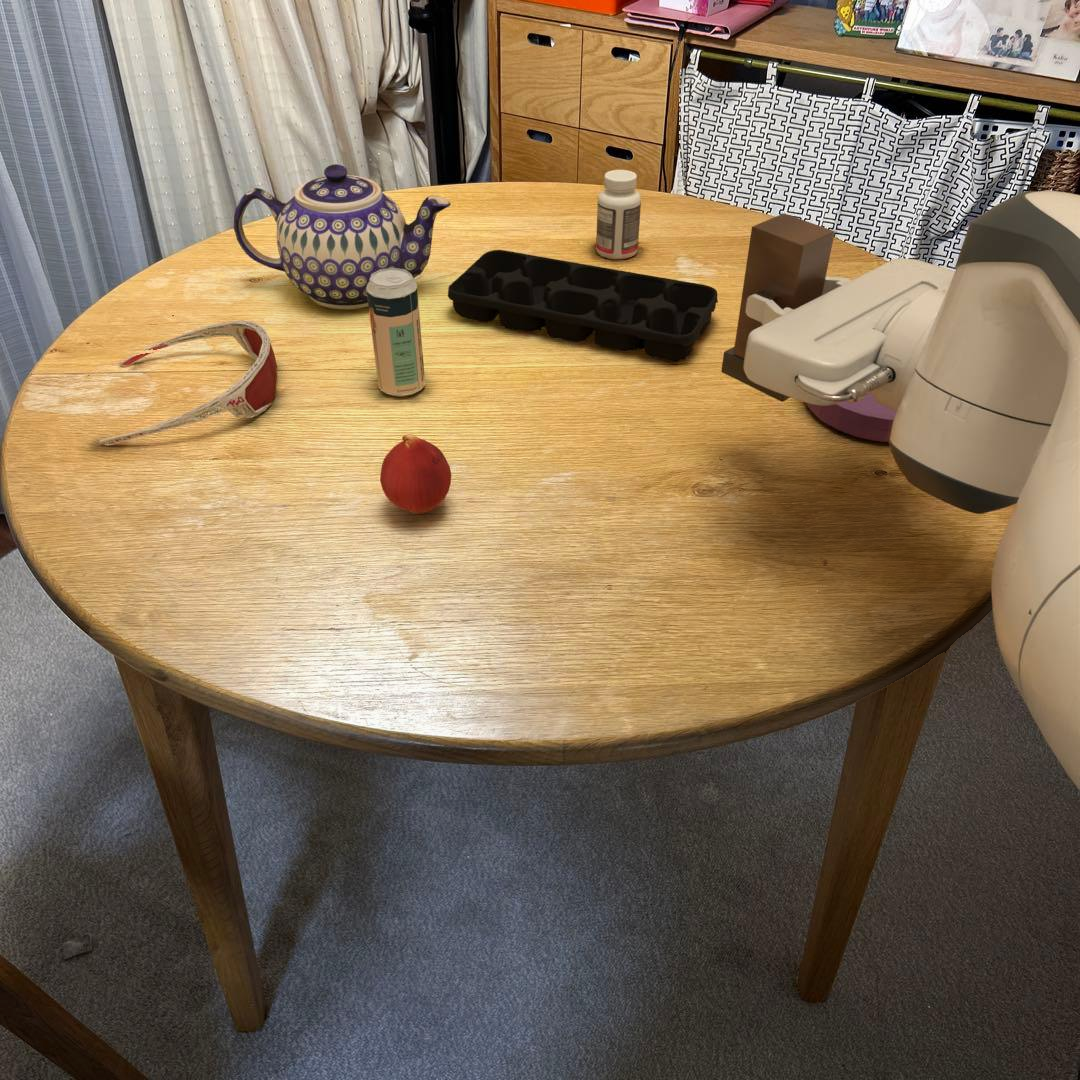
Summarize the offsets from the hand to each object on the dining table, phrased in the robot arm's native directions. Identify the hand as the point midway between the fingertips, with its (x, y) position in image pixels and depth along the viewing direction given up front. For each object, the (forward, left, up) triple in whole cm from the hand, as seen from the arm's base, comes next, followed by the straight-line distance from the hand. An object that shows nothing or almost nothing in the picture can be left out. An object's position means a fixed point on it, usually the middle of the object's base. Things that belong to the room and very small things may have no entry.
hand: (773, 291), depth 77 cm
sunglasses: (+54, +6, -17) cm, 57 cm away
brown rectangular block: (-1, 0, -7) cm, 8 cm away
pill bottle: (+23, -41, -17) cm, 50 cm away
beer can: (+35, -2, -17) cm, 39 cm away
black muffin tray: (+22, -22, -17) cm, 36 cm away
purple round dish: (-11, -14, -17) cm, 24 cm away
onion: (+25, +16, -17) cm, 34 cm away
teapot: (+50, -20, -17) cm, 57 cm away
